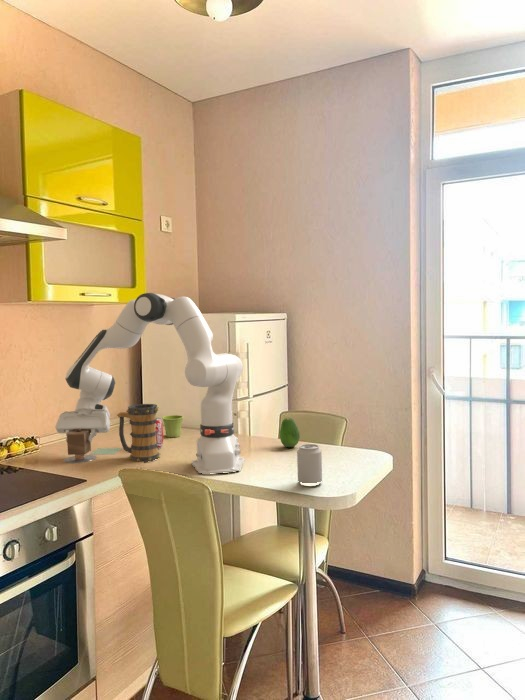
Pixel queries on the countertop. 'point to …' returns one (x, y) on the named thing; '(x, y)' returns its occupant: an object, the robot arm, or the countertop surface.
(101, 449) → the mat
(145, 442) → the mug
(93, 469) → the countertop surface
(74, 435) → the cover box
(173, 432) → the plant pot
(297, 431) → the avocado
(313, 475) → the can
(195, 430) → the countertop surface
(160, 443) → the soda can
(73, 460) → the slate board
